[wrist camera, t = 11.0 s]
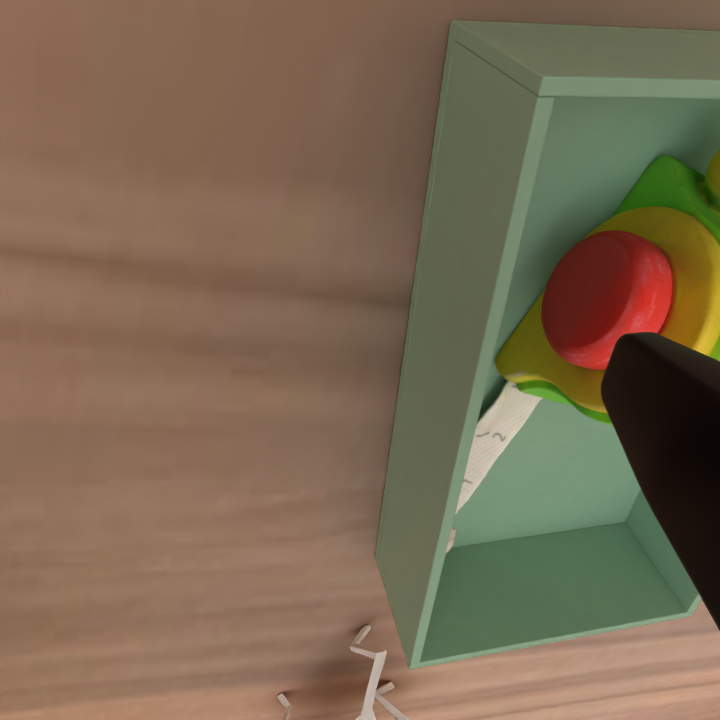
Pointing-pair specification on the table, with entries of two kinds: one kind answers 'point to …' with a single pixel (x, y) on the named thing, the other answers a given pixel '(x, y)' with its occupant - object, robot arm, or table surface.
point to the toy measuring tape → (611, 304)
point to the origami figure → (372, 693)
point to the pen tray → (500, 319)
